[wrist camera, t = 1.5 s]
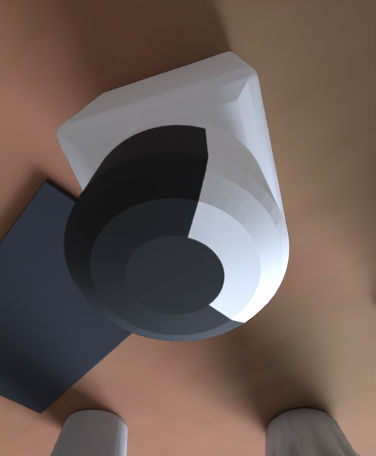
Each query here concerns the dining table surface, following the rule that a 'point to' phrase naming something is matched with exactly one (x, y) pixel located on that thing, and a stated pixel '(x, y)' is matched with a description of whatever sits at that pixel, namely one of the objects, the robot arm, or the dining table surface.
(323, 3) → the dining table surface
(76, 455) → the coffee cup
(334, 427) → the cupcake
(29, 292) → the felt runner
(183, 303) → the medicine bottle
